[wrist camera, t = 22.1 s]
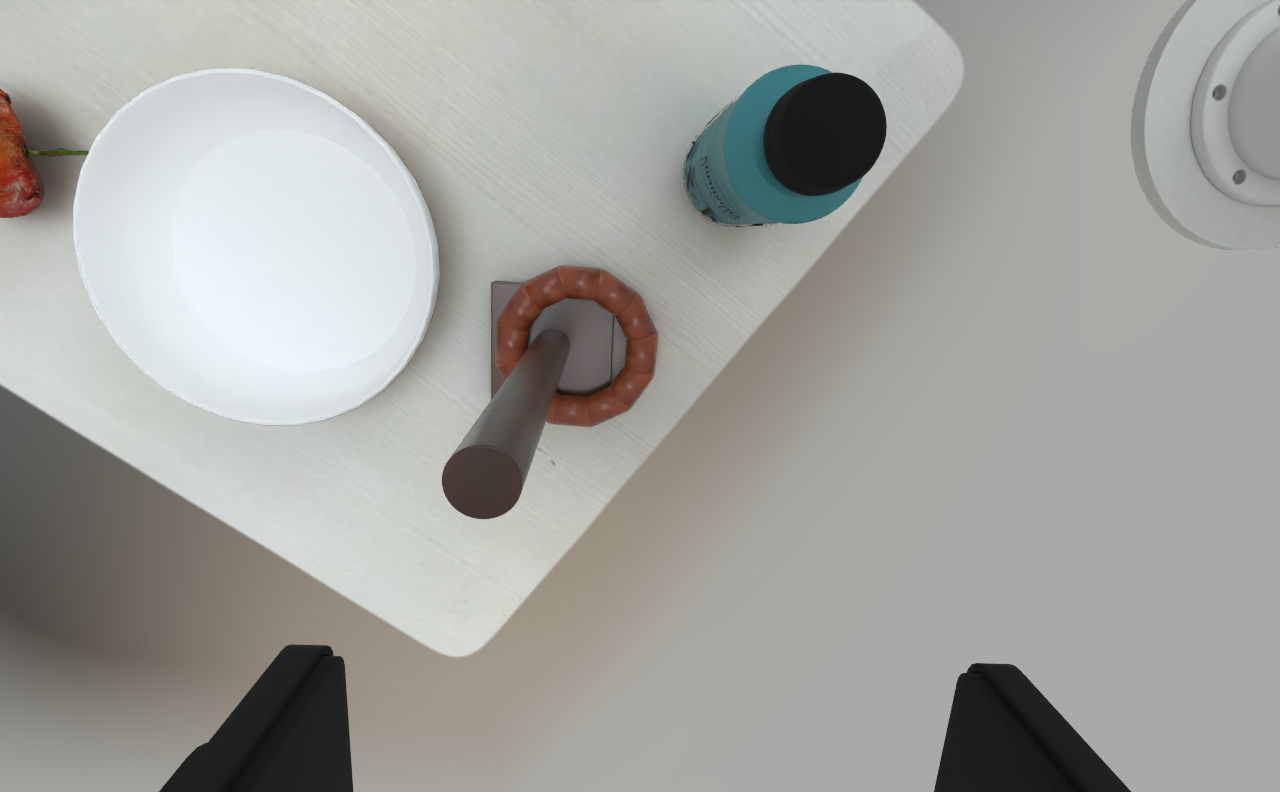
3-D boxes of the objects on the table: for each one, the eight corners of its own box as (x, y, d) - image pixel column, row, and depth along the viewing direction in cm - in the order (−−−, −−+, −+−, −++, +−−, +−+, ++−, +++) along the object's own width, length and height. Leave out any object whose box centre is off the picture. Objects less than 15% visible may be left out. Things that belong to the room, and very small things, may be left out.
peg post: (615, 287, 43) (621, 358, 18) (609, 402, 45) (609, 604, 20) (494, 280, 42) (338, 345, 18) (494, 397, 44) (352, 598, 20)
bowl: (108, 315, 42) (25, 329, 36) (212, 27, 38) (138, -11, 32) (388, 447, 45) (354, 480, 39) (510, 193, 41) (493, 186, 35)
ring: (663, 274, 42) (665, 276, 40) (647, 426, 44) (649, 435, 42) (501, 259, 41) (496, 260, 39) (495, 414, 43) (490, 423, 42)
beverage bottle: (726, 99, 40) (835, -24, 21) (800, 173, 42) (966, 121, 22) (657, 180, 41) (700, 134, 22) (731, 250, 43) (833, 264, 23)
